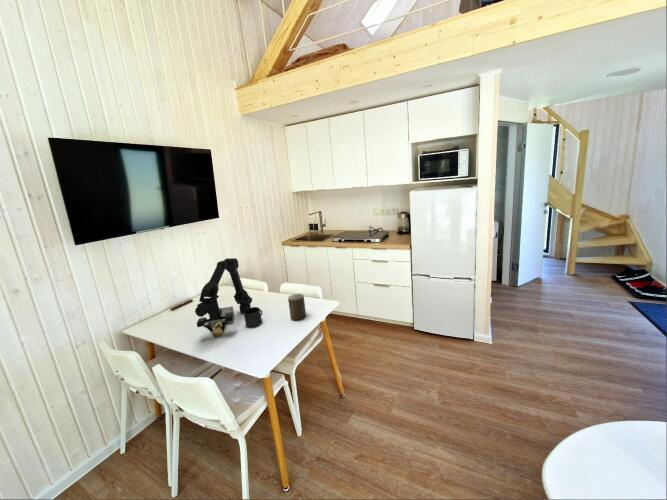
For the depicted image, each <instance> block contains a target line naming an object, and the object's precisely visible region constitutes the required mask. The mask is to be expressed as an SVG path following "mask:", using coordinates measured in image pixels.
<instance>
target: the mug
mask: <svg viewBox="0 0 667 500" xmlns="http://www.w3.org/2000/svg"><path fill="white" fill-rule="evenodd" d="M262 315H263V310H262V309H261V308H259V307H256V306H253V307H252V306H251V308H248V309H246V310H245V311H244V314H243V316H244V322H245V327H246V328H247V329H248V328H249V329H253V328H257V327H259V326H261V325H262V322H263V320H262Z"/></svg>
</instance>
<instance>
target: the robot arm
mask: <svg viewBox="0 0 667 500" xmlns="http://www.w3.org/2000/svg"><path fill="white" fill-rule="evenodd" d="M239 266H240V265H239V259H238V258H236V257H232V258H225V259H224V260H221V261H218V262H217V263H216V267H215V269H214V271H213V273H212V275H211V276H210V279H209V280H208V282H207V283H205V284H204V286H203V287H202V289H201V291H200V296H199V299H198V300H199V301H198V302H200V303H198V304H197V305H196V307H195V309H194V310H195V311H194V312H195V315H196V316H197V317H200V318H198V320H197V321H196V326H197V328H202V327H203V328H206V329H207V330H208V331H209V333H211V334H212V331H213V329H214V328H213V327H212V323H211V322H214V321H219V320H222V329H223V333H224V332H225V329H226V325H225V324H226V323H227V322H228V321H232V320H233V318H234V315H235V313H234V314H233V313H232V312H231V313H226V315H225V316H221V315H222V309H221V307H220V306H219V302H218V298H220V296H219V295H218V292H219V289H220V288H219V283H220V282H221V279H222V278H223V274H225V270H226V271H227V272H228V273H229V275H230V280H231V281H232V285H233V288H234V292H235V294H234V295H233V298H234V301H235V302H236V304H237V305H239V306H238V307H239V312H240V314H241V315H244V311H245V310H246V309H248V308H252V306H251V304H252V302H253V298H252V297H251V296H250V295H249V293H248V292H247V291H246V290H245V289H244V287H243V284H242V283H243V282H242V280H241V277H240V273H239V271H238V269H239ZM205 315H208V316H209V317H208V318H207V317H205ZM234 319H235V318H234Z"/></svg>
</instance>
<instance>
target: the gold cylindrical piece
mask: <svg viewBox="0 0 667 500" xmlns="http://www.w3.org/2000/svg"><path fill="white" fill-rule="evenodd" d="M223 334H224V332H223V329H222V320H219V321H217V322H216V325H215V327H214V328H213V331H212V333H211V335H212V336H213V338H217V339H218V338H221V337H222V336H224V335H223Z"/></svg>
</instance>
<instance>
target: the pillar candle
mask: <svg viewBox="0 0 667 500" xmlns="http://www.w3.org/2000/svg"><path fill="white" fill-rule="evenodd" d="M287 300H288V307H289V315H290V319H291V320H292V321H294V322H298V321H303V320H305V319H306V318H307V313H306V312H307V311H306V304H305V303H306V301H305V296H304V294H303V293H294V294H291V295H289V296H288V297H287Z"/></svg>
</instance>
